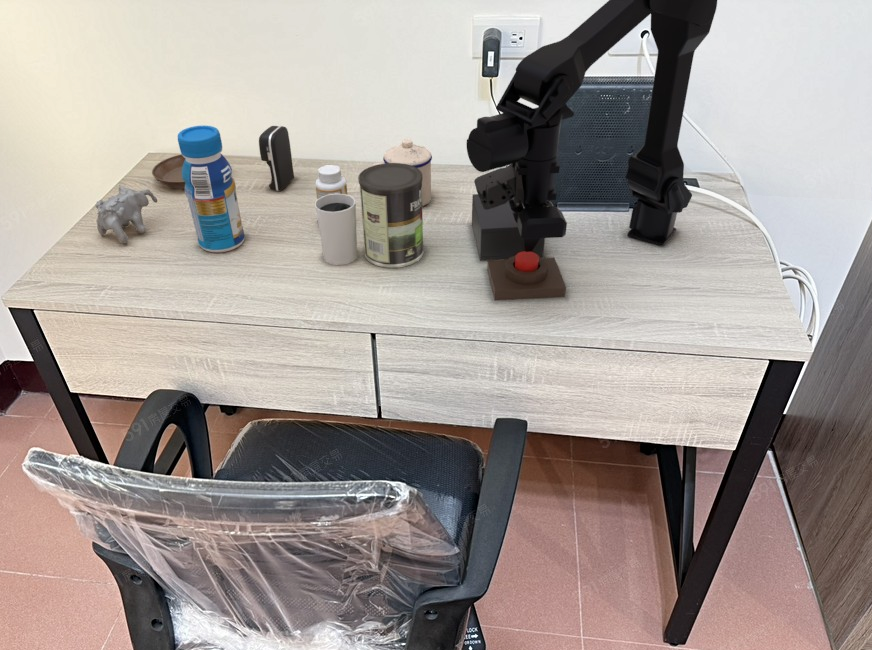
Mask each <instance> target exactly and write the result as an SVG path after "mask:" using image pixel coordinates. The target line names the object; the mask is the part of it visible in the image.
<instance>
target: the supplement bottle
mask: <svg viewBox="0 0 872 650" xmlns="http://www.w3.org/2000/svg"><path fill="white" fill-rule="evenodd" d="M317 173H318V174H317V176H318V178H317V179H316V180H315V192H316V200H317V199H319V198H321V197H322V196H326V195H329V194H346V195H348V186H347V180H346V178H345V177H344V176H343V175H342V171H341V167H340V166H338V165H336V164H325V165H322V166H321V167H319V168H318V170H317Z"/></svg>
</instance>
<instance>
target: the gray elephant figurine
mask: <svg viewBox="0 0 872 650" xmlns="http://www.w3.org/2000/svg"><path fill="white" fill-rule="evenodd" d="M118 192H119V193H118V194H115V195H112V196H111V197H108V199H107V200H102V199H99V200H97V201H96V203H95V208H96V209H97V217H96V226H97V232H98V233H99V234H100V235H101V236H104V235H106V233H107V231H112V232H113V233H114V234H115V236H116V237H117V239H118V241H119V242H120V243H121V244H126V243H127V242H128V240H129V237H128V235H127V234H126V232H125V231H124V229H123V228H127V227H129V226H130V225H133V226H134V228H135V229H136V231H137V233H138V234H139V235H143V234H145V233H146V231H147V229H146V226H145V224H144V218H143V214H142V209H143V207H148V205H149V203H150V202H149V198H148V197H147V196H149V197H150V198H151V200H152V201H153V203H158V198H157V196H155V195H154V193H153V192H152V191H151V190H150V189H143V190H135V189H131V188H130V187H125V186H122V185H118Z"/></svg>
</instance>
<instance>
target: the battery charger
mask: <svg viewBox="0 0 872 650" xmlns="http://www.w3.org/2000/svg"><path fill="white" fill-rule="evenodd" d="M258 148H259V155H260V160H261V162H266V164H267V166H268V168H269V171H270V178H271V181H270V183H269V184H268V189H270V190H271V191H276V192H280V191H283V190H284V189H285V188H286V187H287V186H288V185H289V184H290V183H291V182H292V181H293V180H294V179H295V172H294V166H293V165H294V164H293V157H292V156H293V155H292V148H291V141H290V135H289V130H288V128H287V127H286V126H283V125H271V126H269V127H267V128H266V129H265V130H264V131H263V132H262V133H261V134H260V135H259V137H258Z"/></svg>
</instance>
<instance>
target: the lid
mask: <svg viewBox="0 0 872 650" xmlns="http://www.w3.org/2000/svg"><path fill="white" fill-rule="evenodd" d="M471 197H472V198H471V199H473V202H474V206H475V210H476V214H477V218H478V222H479V226H480V230H481V233H484V232H505V231H519V230H518V224H517V223H516V222H515V219H514V216H513V213H514V212H513V211H512V210H511V207H510V204H509V201H507V203H505V204H503V205H500V206H497V207H495V208H491V209H488V210H485V209H483V207H482V204H481V201H480V198H479V196H478V193H476V194H475V193H474V194H472V196H471ZM512 199H514V197H513V198H512Z"/></svg>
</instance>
